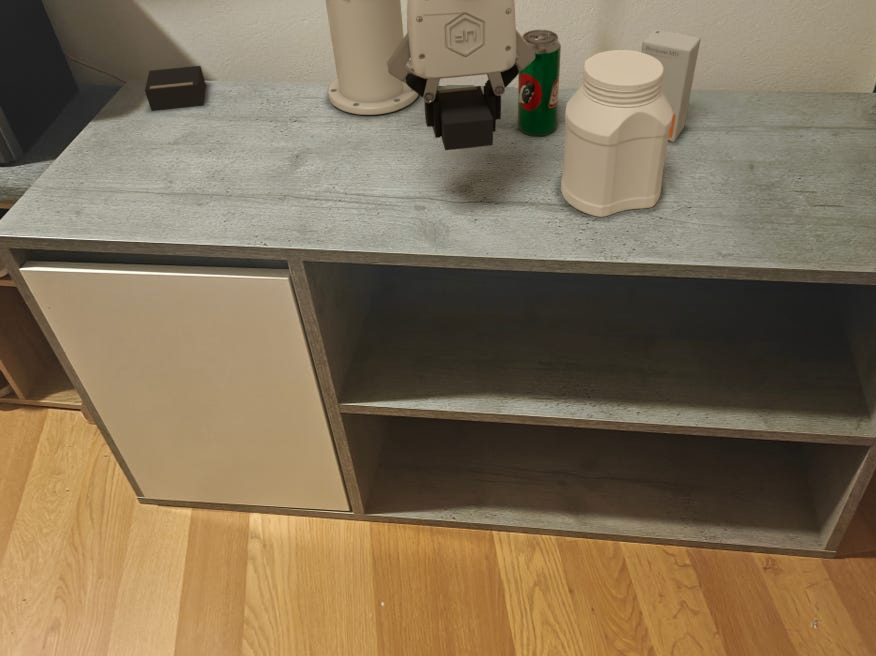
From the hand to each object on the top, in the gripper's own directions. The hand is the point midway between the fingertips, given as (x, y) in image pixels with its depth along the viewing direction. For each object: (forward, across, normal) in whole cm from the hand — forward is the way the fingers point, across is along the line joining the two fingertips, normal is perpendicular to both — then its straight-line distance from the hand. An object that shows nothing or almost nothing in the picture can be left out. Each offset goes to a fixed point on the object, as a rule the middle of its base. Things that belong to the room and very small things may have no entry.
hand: (463, 126), depth 84 cm
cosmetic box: (+11, +27, +12) cm, 32 cm away
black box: (0, 0, 0) cm, 0 cm away
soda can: (+11, +12, +16) cm, 23 cm away
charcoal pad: (+12, -35, +35) cm, 51 cm away
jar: (+11, +17, 0) cm, 20 cm away
